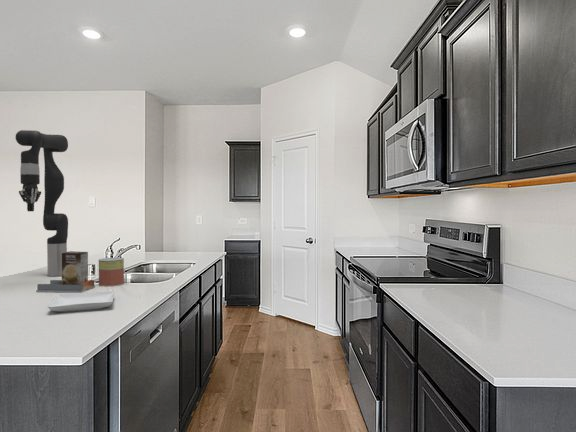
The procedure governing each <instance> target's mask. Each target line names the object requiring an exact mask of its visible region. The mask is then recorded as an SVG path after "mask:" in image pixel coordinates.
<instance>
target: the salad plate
mask: <svg viewBox="0 0 576 432" xmlns="http://www.w3.org/2000/svg"><path fill="white" fill-rule="evenodd" d="M114 295H115V291H113V290H112V291H110V290H108V291H94V292H93V291H91V292H90V291H89V292H81V293H65V294H57V295H55V297H54V298H53V299H52V301H51V302H50V303H49V304H48V306H47V309H49V310H50V311H53V312H60V313H67V312H79V311H80V312H81V311H89V310H90V311H91V310H101V309H102V310H103V309H105V308H107V307H109V306H111V305H112V304H113V303H114Z"/></svg>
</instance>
